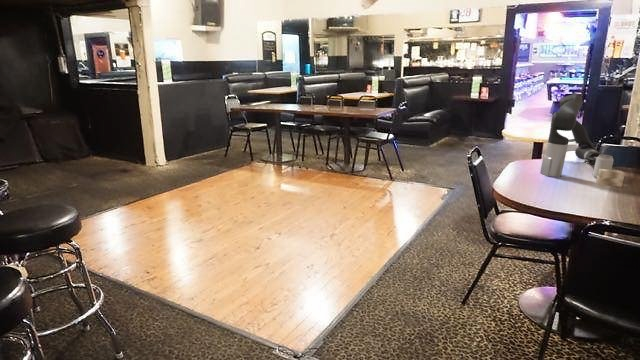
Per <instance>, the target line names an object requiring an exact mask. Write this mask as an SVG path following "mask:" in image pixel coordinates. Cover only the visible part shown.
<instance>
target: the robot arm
mask: <svg viewBox="0 0 640 360" xmlns="http://www.w3.org/2000/svg"><path fill="white" fill-rule="evenodd" d="M559 107H560V108H559V111H554V113H553V114H552V117H551V122H550V129H549V131H550V132H549V135H548V136H549V137H548V140H547V146H546V149H545V150H546V151H545V155H543V156H542V157H543V158H542V161H541V166H540V167H541V168H540V172H539V173H540V174H542V175H544V176H546V177H552V178H553V177H554V178H561V177H562V174H563V170H564V165H565V162H566V161H565V159H566V155H567V151H568V146H569V145H568V144H569V138H568V137H566V136H563V135H562V134H561V133H559V132H558V131H563V132H569V131H571V132H572V136H573V139H574V142H575V144H578V145H581V144H582V145H583V144H585V145H583V146H579V147H577V148H576V149H575V150H574V153H575V157H577V158H578V159H580V160H584V163H586V164H587V163H588V165H591V166H594V167H595V163H596V158H597V157H598V156H599V155H601V153H600V152H599V151H598V150H597V149H596V147H595V145H594V144H593V142H592V141H591V139H590V138H589V135H588V132H587V129H586V128H585V125H583V123H581V122H580V121H578V120H577V117H578V115H579V111H580V110H581V109H582V107H583V98H582V96H581V95H580V94H579V93H573V94H569V95H566V96H563V97H560V98H559Z"/></svg>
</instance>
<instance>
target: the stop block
mask: <svg viewBox="0 0 640 360" xmlns="http://www.w3.org/2000/svg"><path fill="white" fill-rule="evenodd" d="M625 176H626V173H625V172H624V171H623V170H613V169H611V170H606V169H599V172H598V176H597V178H596V181H595V182H596V184H597V185H602V186H608V187H609V186H611V187H612V186H613V187H623V182H624V179H625Z"/></svg>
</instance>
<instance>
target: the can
mask: <svg viewBox="0 0 640 360" xmlns="http://www.w3.org/2000/svg"><path fill="white" fill-rule="evenodd" d="M600 154H601V153H600ZM613 164H614V158H613V156H612V155H609V154H601V155H599V156H598V157H597V158H596V163H595V166H594V168H593V173H592V176H593V177H594V178H596V179H597V176H598V172H599V169H606V170H613V169H612V168H613Z"/></svg>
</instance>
